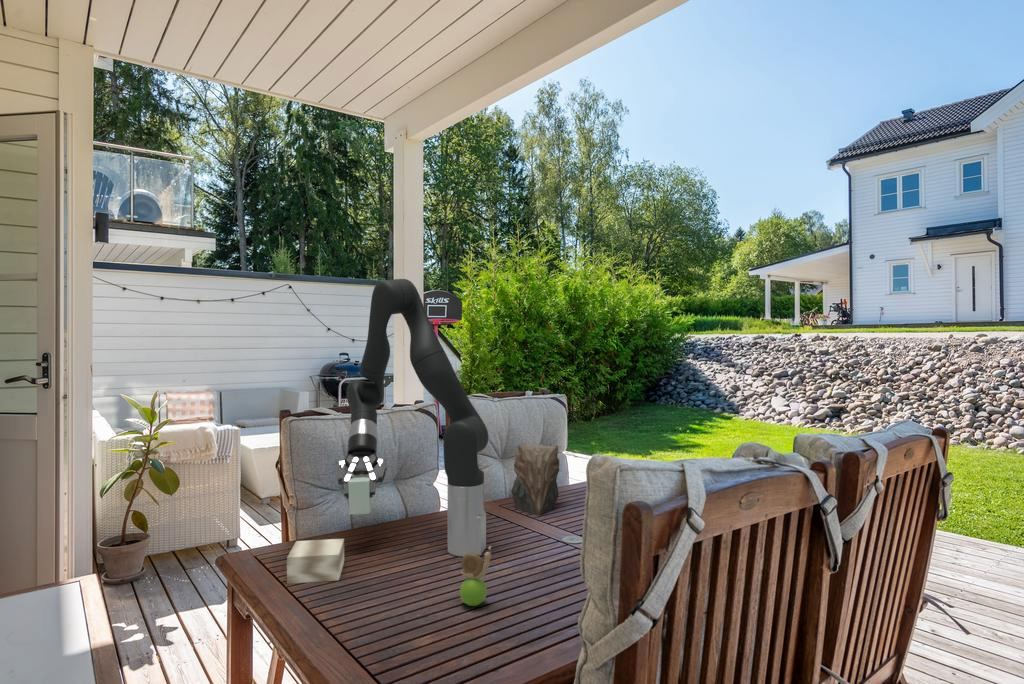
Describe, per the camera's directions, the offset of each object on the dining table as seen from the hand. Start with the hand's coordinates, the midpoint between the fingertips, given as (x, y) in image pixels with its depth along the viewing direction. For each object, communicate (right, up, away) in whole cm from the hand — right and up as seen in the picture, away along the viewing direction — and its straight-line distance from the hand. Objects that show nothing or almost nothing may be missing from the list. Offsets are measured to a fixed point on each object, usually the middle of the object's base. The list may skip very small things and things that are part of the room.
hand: (359, 496), depth 149 cm
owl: (+45, -15, +40) cm, 62 cm away
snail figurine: (+31, -15, -28) cm, 44 cm away
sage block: (0, -4, +2) cm, 5 cm away
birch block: (-7, -15, -11) cm, 20 cm away
